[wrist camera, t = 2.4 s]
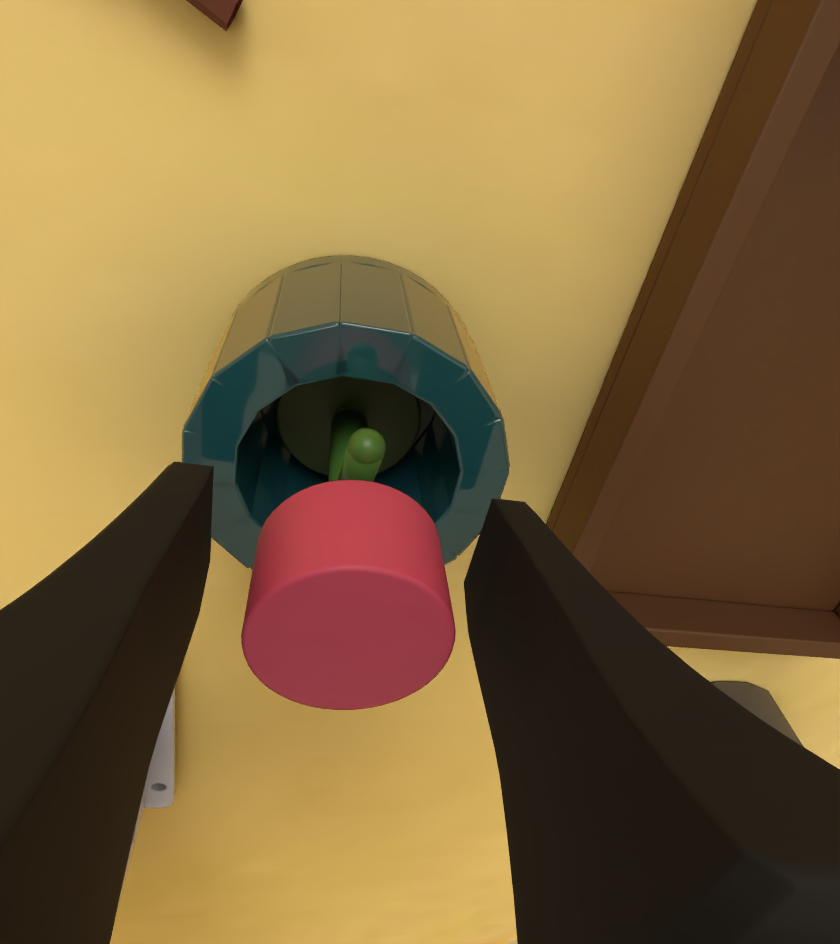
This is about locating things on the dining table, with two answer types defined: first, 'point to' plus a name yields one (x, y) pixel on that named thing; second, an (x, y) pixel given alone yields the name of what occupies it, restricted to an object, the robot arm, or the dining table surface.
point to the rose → (348, 558)
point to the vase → (356, 356)
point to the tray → (732, 375)
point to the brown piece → (218, 10)
